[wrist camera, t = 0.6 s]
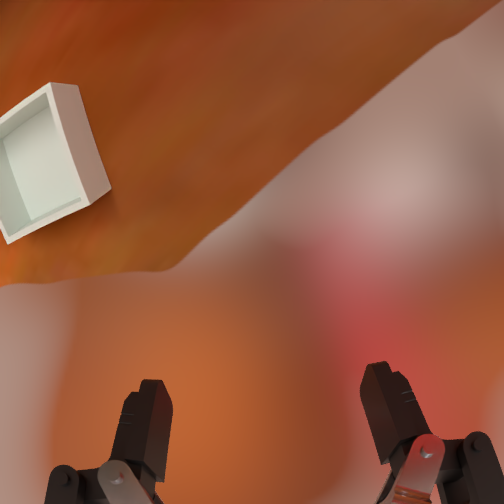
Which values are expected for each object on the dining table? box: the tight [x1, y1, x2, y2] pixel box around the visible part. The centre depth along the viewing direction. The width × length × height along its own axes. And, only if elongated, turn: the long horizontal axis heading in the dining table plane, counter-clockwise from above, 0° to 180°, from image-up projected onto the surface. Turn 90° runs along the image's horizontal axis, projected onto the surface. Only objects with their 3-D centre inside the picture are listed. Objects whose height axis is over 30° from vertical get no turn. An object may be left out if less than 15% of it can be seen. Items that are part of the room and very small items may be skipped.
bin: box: [0, 82, 112, 244], centre depth 29 cm, size 15×15×7 cm
